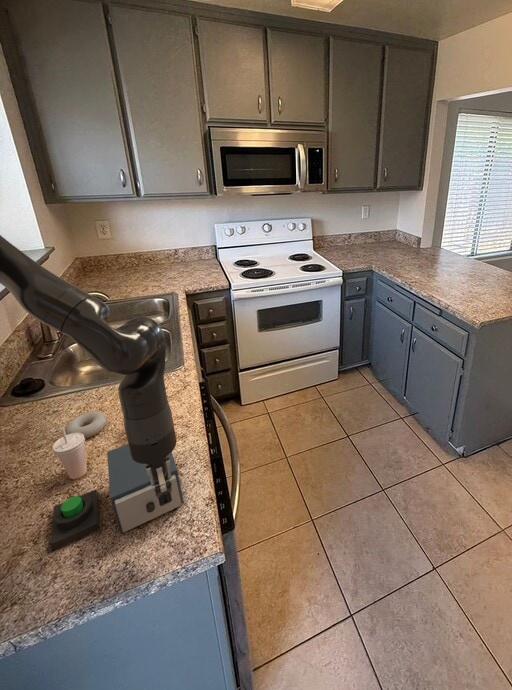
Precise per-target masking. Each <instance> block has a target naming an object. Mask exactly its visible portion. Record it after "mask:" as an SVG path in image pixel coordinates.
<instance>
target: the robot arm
mask: <svg viewBox="0 0 512 690" xmlns="http://www.w3.org/2000/svg"><path fill="white" fill-rule="evenodd" d="M0 285H2V286H3V287H4V288H6V289H7V290H8V291H9V292H10V293H11V295H12V296H13V297H14V299H15V301H16V302H17V303H18V304H19V306H20V307H21V308H22V309H23V310H24V311H25V312H26V313H27V314H28V315H30V316H31V317H32V318H33V319H35V320H37V321H38V322H40V323H42V324H44V325H46V326H47V327H48V328H51V329H53V330H55V331H56V332H58V333H60V334H62V335H64V336H66V337H68V338H70V339H71V340H72V341H73V342H75V344H76V345H77V346H78V347H79V348H80V349H81V350H82V351H83V352H84V353H85V354H86V355H87V356H88V357H90V358H91V359H92V360H93V361H94V362H95V364H97V365H98V366H99V367H100V368H102V369H103V370H105V371H107V372H109V373H111V374H114V375H120V376H121V375H122V376H123V378H122V379H121V381H120V382H119V385H118V390H117V392H118V398H119V403H120V408H121V412H122V417H123V426H124V432H125V437H126V441H127V444H128V445H129V449H130V453H131V457H132V459H133V460H134V461H135V462H137V463H141V464H145V465H146V471H147V475H148V476H149V477H150V481H151V486H155V489H154V490H155V492H156V496H157V498H158V500H159V505H160V506H163V505H165V504H168V503H170V502H171V501H172V497H171V492H172V487H171V485H172V483H170V479H171V472H170V467H171V464H170V459H169V457H168V455H169V454H170V453H171V452H172V453H173V451H174V450H175V448H176V446H177V434H176V430H175V425H174V419H173V413H172V409H171V407H170V404H169V400H168V395H167V390H166V384H165V370H166V360H167V359H166V358H167V357H166V356H167V342H166V337H165V334H164V333H165V332H164V330H163V328H162V327H161V325H160V324H159V323H158V322H157V321H156V320H155V319H153V318H150V317H148V316H142V315H141V316H135V317H133V318H130V319H129V320H127V321H126V322H124V323H122V325H120V326H119V327H117V328H115V327H112V326H111V325H110V324H109V323H108V322H107V321H108V319H109V317H110V312H111V311H110V307H109V306H108V304H106V303H105V302H104V301H102V300H101V299H99V298H97V297H95V296H93V295H92V294H91V293H89V292H86V291H85V290H83V289H81V288H79V287H78V286H76V285H74V284H72V283H70V282H68V281H67V280H65V279H63V278H62V277H60V276H58V275H56V274H55V273H54V272H52V271H50V270H49V269H47V268H45V267H44V266H42V265H41V264H39V263H38V262H37V261H35V260H34V259H32V258H31V257H30V256H28V255H27V254H26V253H24V252H23V251H22V250H20V249H19V248H18V247H16V246H15V245H13V244H12V243H11V242H10V241H8V240H7V239H6V238H4V236H2V235H1V234H0Z"/></svg>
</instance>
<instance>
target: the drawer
mask: <svg viewBox="0 0 512 690" xmlns="http://www.w3.org/2000/svg"><path fill="white" fill-rule="evenodd" d="M170 483H172V485H171V487H172V492H171V497H172V501H171V502H170V503H168V504H165V505H163V506H160V505H159V500H158V498H157V496H156V492H155V490H154V489H155V486H151V484H150V485H147V486H145V487H143V488H140V489H138V490H136V491H133V492H131V493H129V494H126V495H124V496H122V497H119V499H116V500H115V506H116V509H117V513H118V516H119V520H120V523H121V527H122V530H123V532H122V533H126V532H128V531H130V530H133V529H135V528H137V527H138V526H141V525H143V524H145V523H147V522H149V521H152V520H154V519H155V518H158V517H160V516H162V515H164V514H166V513H168V512H170V511H173V510H174V509H176V508H179V507H181V506H182V504H181V500H180V496H179V491H178V486H177V481H176V477H175V475H172V476H171V479H170Z"/></svg>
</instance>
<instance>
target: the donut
mask: <svg viewBox="0 0 512 690" xmlns="http://www.w3.org/2000/svg"><path fill="white" fill-rule="evenodd" d="M106 423H107V417H106V415H105V414H104V413H103V412H102V411H101V412H100V411H89V412H84V413H82V414H79V415H77V416H75V417H74V418H73V419H71V421H70V422H68V424H67V425H66V427H65V433H66V435H68V434H72V433H81V434H83V435H84V438H85V439H88V438H91V437H93V436H95V435H97V434H98V433H99V432H101V431H102V430H103V429H104V427H105V426H106Z"/></svg>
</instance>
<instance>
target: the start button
mask: <svg viewBox="0 0 512 690" xmlns="http://www.w3.org/2000/svg"><path fill="white" fill-rule="evenodd" d="M62 503H63V504H62V506H61V511H62V513H63V516H64V517H72V516H74V515H76V514H77V513H79V512H80V511H81V510H82V508H83V502H82V499H81V497H79V496H78V495H75V496H71V497H69V498H67V499H66V500H65V501H64V502H62Z"/></svg>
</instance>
